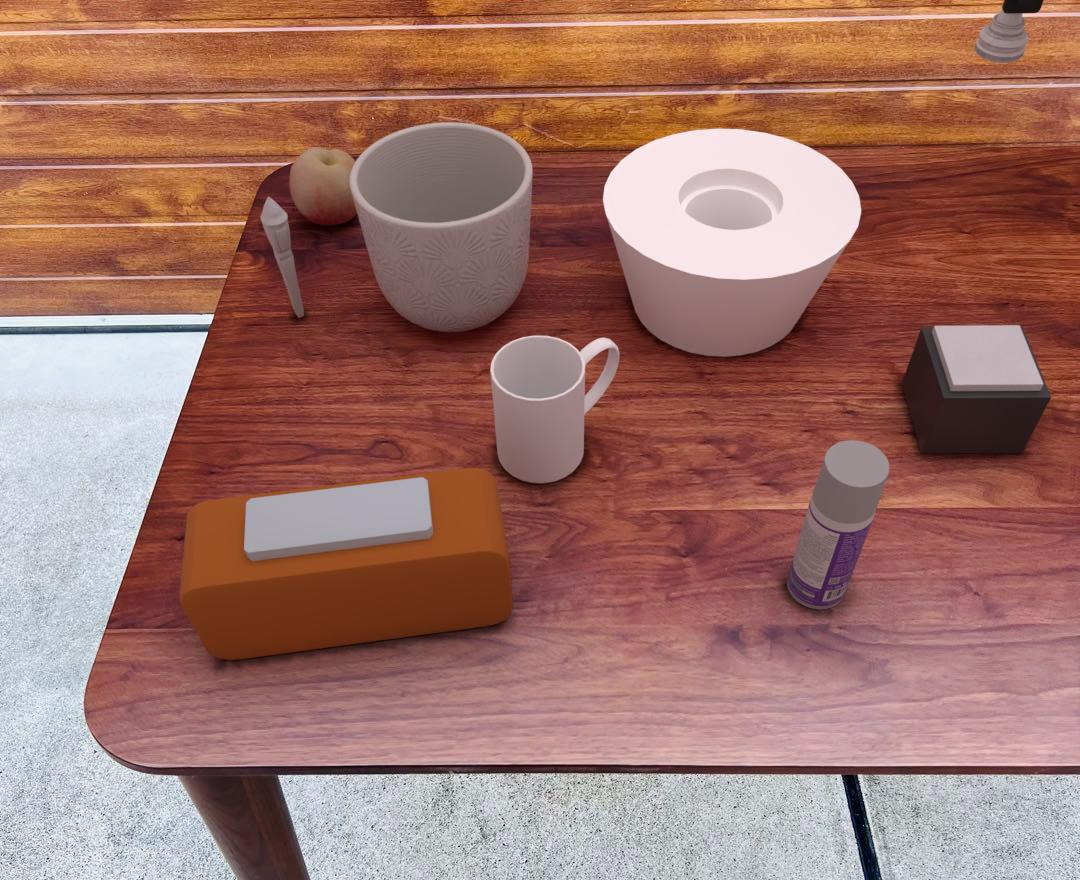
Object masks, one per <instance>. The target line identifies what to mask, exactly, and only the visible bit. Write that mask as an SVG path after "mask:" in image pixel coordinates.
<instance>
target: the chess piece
mask: <svg viewBox="0 0 1080 880" xmlns="http://www.w3.org/2000/svg"><path fill="white" fill-rule="evenodd" d="M1025 25H1026V19H1025V18H1024V17H1023V13H1012V14H1006V13H1004V11H1003V9H1002V8H1001V10H1000V12H999V13H996V14H995V15H993V18H992V19H991V23H988V24H986V25H985V26H983V27H982V29H980V31H979V33H978V38H977V39H976V41H975V44H974V52H975V54H976V55H977V56H978V57H980V58H981V59H983V60H985V61H988V62H991V63H996V64H1010V63H1014V62H1017V61H1019V60H1021V59H1022V58H1023V57H1024V55H1025V52H1026V49H1027V45H1028V41H1029V35H1028V32H1027V31H1026V28H1024V27H1025Z"/></svg>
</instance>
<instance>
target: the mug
mask: <svg viewBox="0 0 1080 880" xmlns="http://www.w3.org/2000/svg"><path fill="white" fill-rule="evenodd" d="M607 349H608V355H607V360H606V362H605V365H604V367H603V370H602V372H601V373H600V376H599V377H598V379H597V380H596V381H595V383H594V384H593V386H592V387H591V388H590V389H589V390H588V392H587V393H586V365H587V364H588V363H589V362H590V361H591V360H592V359H594V357H595V356H597V355H598V354H600V353H601V352H603V351H605V350H607ZM620 357H621V356H620V350H619V346H617V344H616V343H615V342H614V340H611V338H607V337H599V338H597V339H594V340H592V341H591V342H589V343H588V344H587V345H586V346H584V347H583V348H582V349H581V350H580V351H579V349H578V348H577V347H576V346H574V345H573V344H571V343H570V342H568V341H566V340H564V339H561V338H559V337H555V336H549V335H530V336H529V335H528V336H523V337H520V338H517V339H513V340H511V341H509V342H507V343H506V344H505V345H503V346H502V347H501V348H500V349H499V350H498V351H497V352H496V353H495V355H494V356H493V359H492V360H491V362H490V370H489V371H490V383H491V393H492V394H491V395H492V404H493V405H492V407H493V419H494V428H495V429H494V430H495V431H494V432H495V442H496V443H495V444H496V451H497V452H496V453H497V457H498V461H499V463H500V464H501V466H502V467H503V469H504V470H505V471H506V472H507V473H508V474H509V475H511V476H512V477H514V478H516V479H517V480H520V481H522V482H527V483H531V484H548V483H553V482H557V481H560V480H562V479H565V478H566V477H568V476H570V475H571V474H573V473H574V471H575V470H576V469H577V468H578V466H580V465H581V462H582V460H583V457H584V454H585V453H584V452H585V451H584V450H585V415H586V414H587V413H588V412H589V411H590V410H591V409H592V408H593V407H594V406H595V405H596V403H597V402H598V401H599V400H600V399H601V397H602V396H603V395H604V393H606V391H607V389H608V388H609V387H610V385H611V383H612V382H613V380H614V378H615V376H616V373H617V370H618V367H619V364H620Z"/></svg>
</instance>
